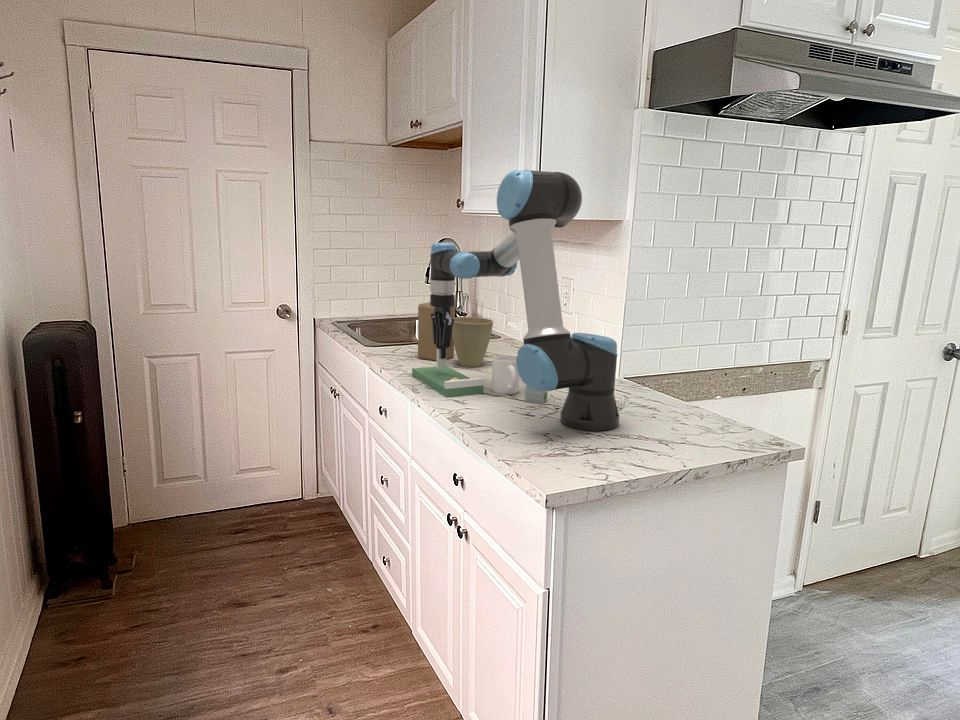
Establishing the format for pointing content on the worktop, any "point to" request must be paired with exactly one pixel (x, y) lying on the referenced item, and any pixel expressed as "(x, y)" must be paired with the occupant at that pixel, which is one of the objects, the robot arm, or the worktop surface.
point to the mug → (505, 375)
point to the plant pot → (471, 339)
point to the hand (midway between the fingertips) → (441, 368)
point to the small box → (535, 395)
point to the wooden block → (430, 333)
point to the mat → (448, 381)
